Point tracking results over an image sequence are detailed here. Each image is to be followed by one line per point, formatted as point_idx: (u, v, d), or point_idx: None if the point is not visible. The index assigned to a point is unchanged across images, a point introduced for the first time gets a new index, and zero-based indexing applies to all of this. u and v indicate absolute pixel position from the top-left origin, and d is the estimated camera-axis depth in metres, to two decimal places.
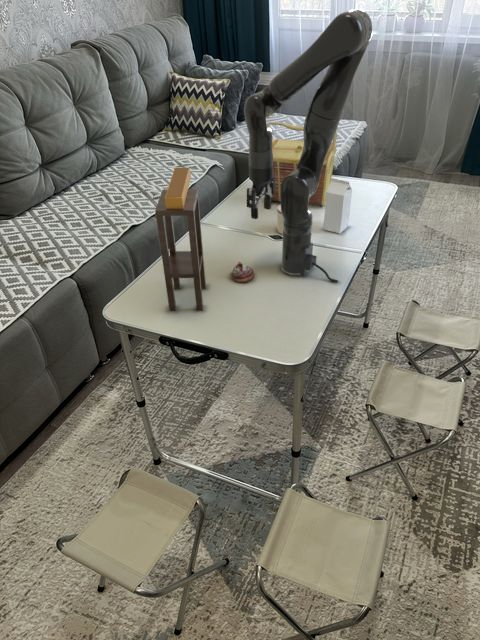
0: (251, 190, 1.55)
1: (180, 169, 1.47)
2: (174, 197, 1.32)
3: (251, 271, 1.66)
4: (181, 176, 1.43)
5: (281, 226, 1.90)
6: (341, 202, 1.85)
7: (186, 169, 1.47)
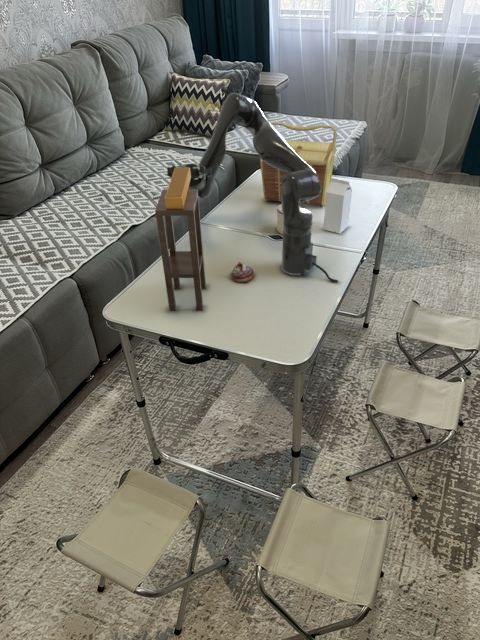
0: None
1: (180, 169, 1.47)
2: (174, 197, 1.32)
3: (251, 271, 1.66)
4: (181, 176, 1.43)
5: (281, 226, 1.90)
6: (341, 202, 1.85)
7: (186, 169, 1.47)
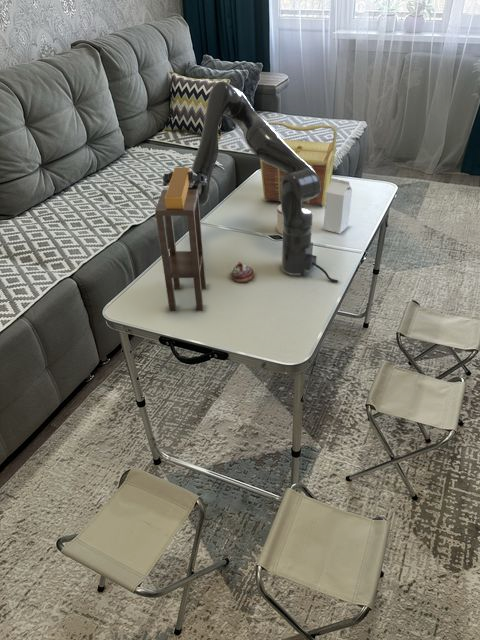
0: None
1: (180, 169, 1.47)
2: (174, 197, 1.32)
3: (251, 271, 1.66)
4: (181, 176, 1.43)
5: (281, 226, 1.90)
6: (341, 202, 1.85)
7: (186, 169, 1.47)
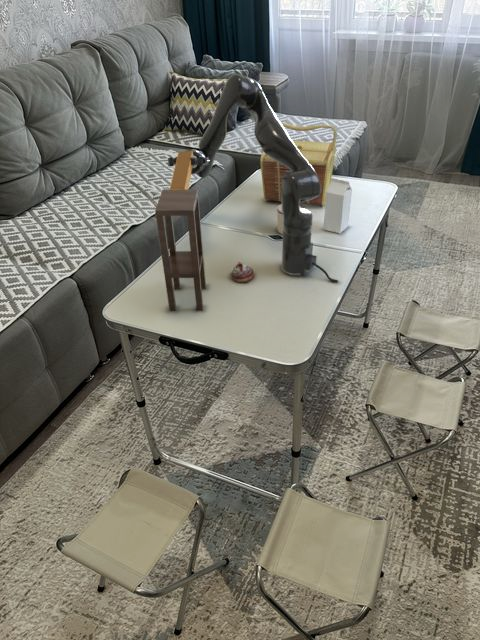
0: None
1: (183, 153, 1.59)
2: (178, 189, 1.46)
3: (251, 271, 1.66)
4: (184, 162, 1.56)
5: (281, 226, 1.90)
6: (341, 202, 1.85)
7: (189, 153, 1.59)
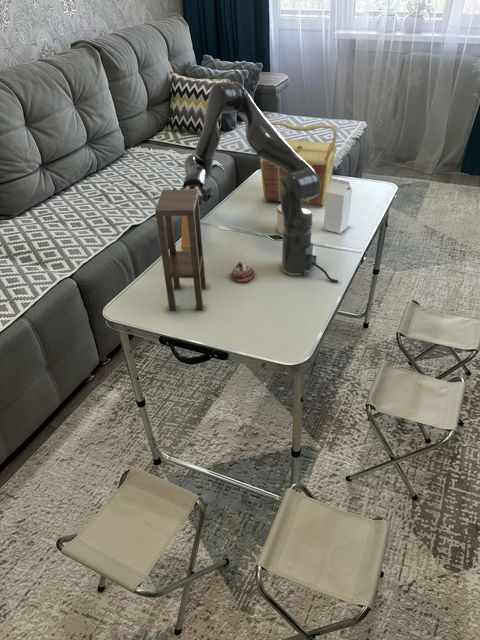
0: None
1: None
2: (188, 246, 1.61)
3: (251, 271, 1.66)
4: None
5: (281, 226, 1.90)
6: (341, 202, 1.85)
7: None
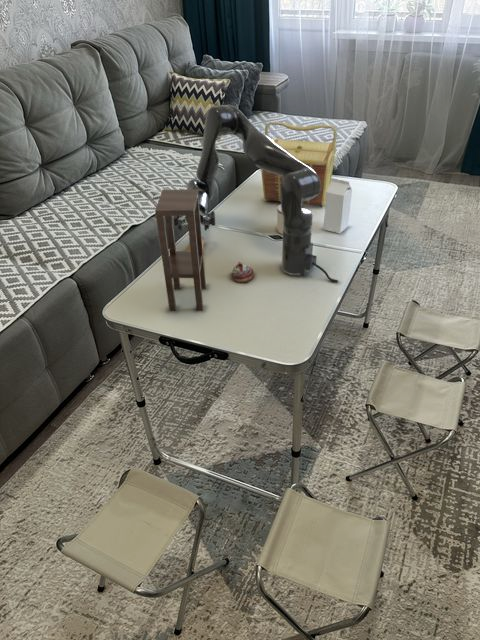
0: None
1: None
2: None
3: (251, 271, 1.66)
4: None
5: (281, 226, 1.90)
6: (341, 202, 1.85)
7: None
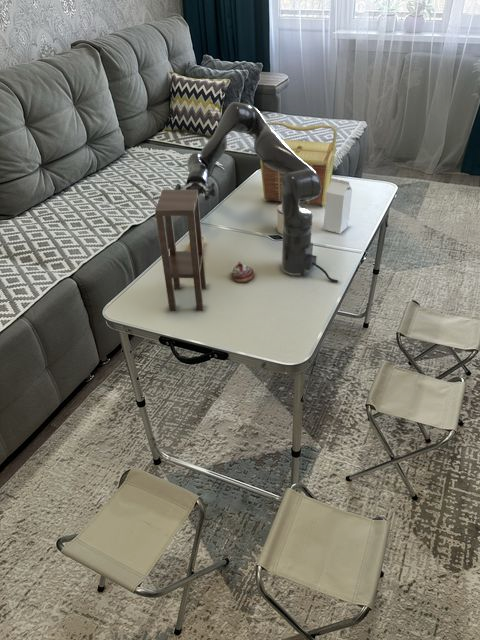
0: None
1: None
2: None
3: (251, 271, 1.66)
4: None
5: (281, 226, 1.90)
6: (341, 202, 1.85)
7: None
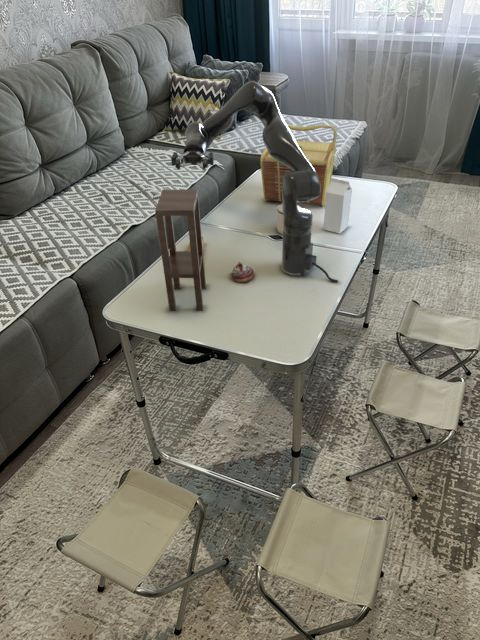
0: None
1: None
2: None
3: (251, 271, 1.66)
4: None
5: (281, 226, 1.90)
6: (341, 202, 1.85)
7: None
